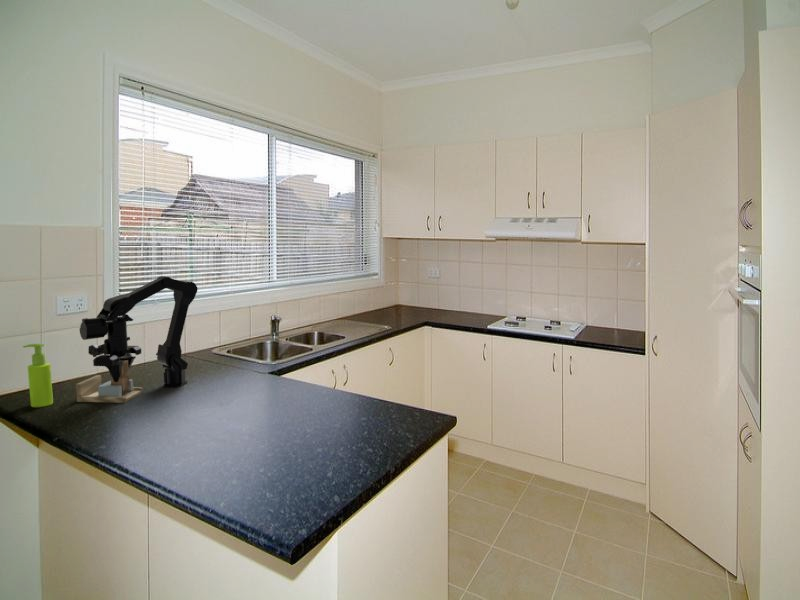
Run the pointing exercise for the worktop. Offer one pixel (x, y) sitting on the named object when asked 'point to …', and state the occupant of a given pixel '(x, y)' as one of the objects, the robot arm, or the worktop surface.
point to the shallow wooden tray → (89, 392)
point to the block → (112, 389)
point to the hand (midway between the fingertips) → (119, 380)
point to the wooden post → (123, 376)
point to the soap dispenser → (39, 379)
